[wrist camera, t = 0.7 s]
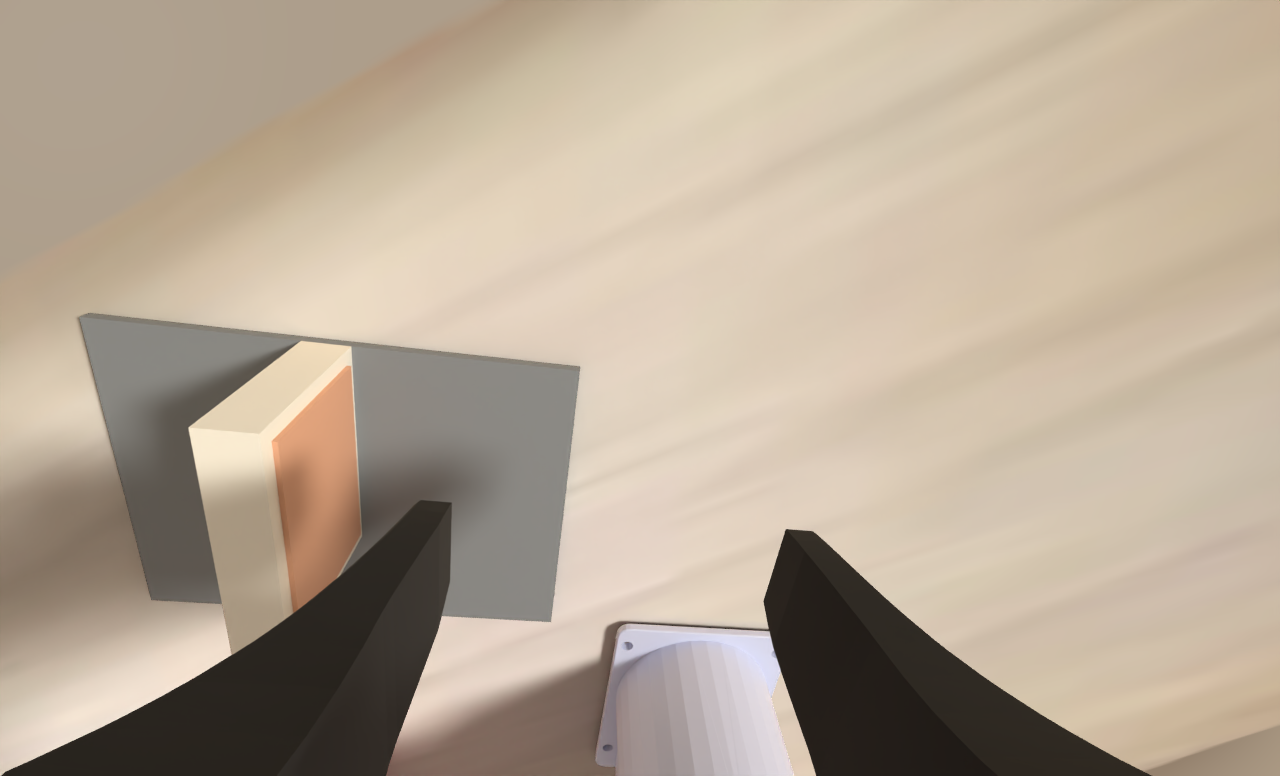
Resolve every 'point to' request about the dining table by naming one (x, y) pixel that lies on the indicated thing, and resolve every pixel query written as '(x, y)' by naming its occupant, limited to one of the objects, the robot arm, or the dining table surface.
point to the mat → (386, 446)
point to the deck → (280, 486)
